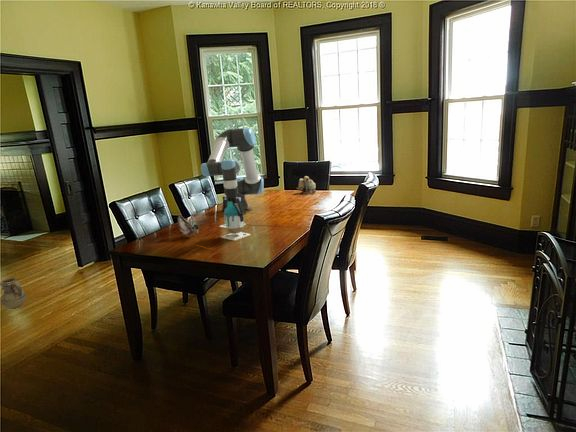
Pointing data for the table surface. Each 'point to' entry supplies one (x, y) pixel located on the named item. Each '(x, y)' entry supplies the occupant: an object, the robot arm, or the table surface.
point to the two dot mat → (235, 236)
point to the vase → (232, 219)
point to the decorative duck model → (186, 226)
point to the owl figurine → (306, 186)
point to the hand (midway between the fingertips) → (235, 225)
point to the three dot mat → (225, 226)
